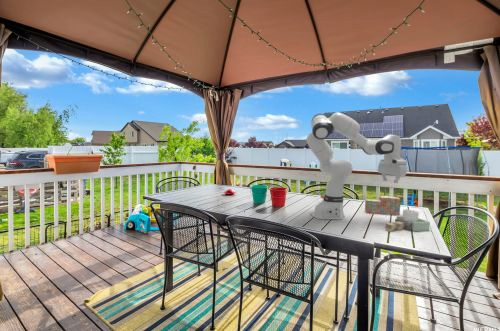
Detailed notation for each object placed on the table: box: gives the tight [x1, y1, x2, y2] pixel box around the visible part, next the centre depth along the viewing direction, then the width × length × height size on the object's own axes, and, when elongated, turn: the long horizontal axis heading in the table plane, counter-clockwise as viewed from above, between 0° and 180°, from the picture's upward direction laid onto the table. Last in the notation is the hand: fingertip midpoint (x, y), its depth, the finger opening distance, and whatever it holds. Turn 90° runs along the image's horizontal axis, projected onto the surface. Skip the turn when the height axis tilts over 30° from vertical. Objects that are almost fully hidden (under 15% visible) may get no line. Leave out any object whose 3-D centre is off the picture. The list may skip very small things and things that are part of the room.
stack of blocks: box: [364, 195, 402, 217], centre depth 175 cm, size 21×6×12 cm, turn 74°
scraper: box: [384, 218, 413, 233], centre depth 142 cm, size 14×9×4 cm, turn 113°
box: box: [395, 215, 431, 232], centre depth 145 cm, size 11×13×5 cm
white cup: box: [402, 208, 420, 229], centre depth 145 cm, size 8×8×10 cm
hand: (390, 181), depth 155 cm, fingers open, 8 cm apart
